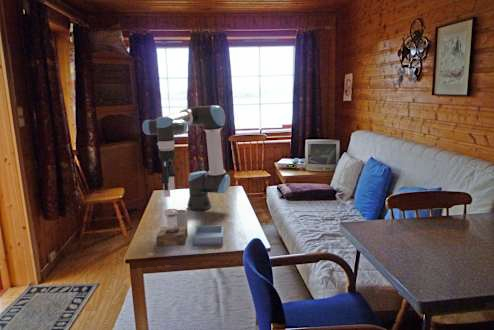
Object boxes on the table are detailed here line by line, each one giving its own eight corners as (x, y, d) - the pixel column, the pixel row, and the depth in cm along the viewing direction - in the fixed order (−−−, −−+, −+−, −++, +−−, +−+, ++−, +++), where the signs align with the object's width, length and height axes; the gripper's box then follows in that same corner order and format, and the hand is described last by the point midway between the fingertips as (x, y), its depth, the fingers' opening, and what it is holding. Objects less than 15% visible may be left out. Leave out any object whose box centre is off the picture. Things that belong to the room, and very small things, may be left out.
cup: (188, 228, 195) (187, 213, 194) (169, 231, 193) (168, 215, 192) (187, 224, 202) (186, 209, 201) (169, 226, 200) (167, 211, 198)
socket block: (162, 236, 186) (161, 226, 185) (187, 234, 187) (187, 225, 186) (157, 246, 174) (156, 236, 173) (184, 245, 174) (183, 235, 173)
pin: (167, 238, 183) (165, 209, 180) (180, 237, 183) (178, 208, 181) (165, 243, 177) (163, 213, 174) (178, 242, 177) (176, 212, 174)
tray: (196, 233, 188) (196, 226, 188) (223, 232, 189) (223, 225, 188) (193, 245, 173) (192, 238, 172) (222, 244, 173) (222, 236, 172)
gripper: (163, 146, 184) (166, 187, 188) (152, 153, 159) (156, 200, 163) (178, 145, 184) (181, 186, 188) (170, 153, 159) (173, 199, 163)
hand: (169, 192), depth 176 cm, fingers open, 13 cm apart
